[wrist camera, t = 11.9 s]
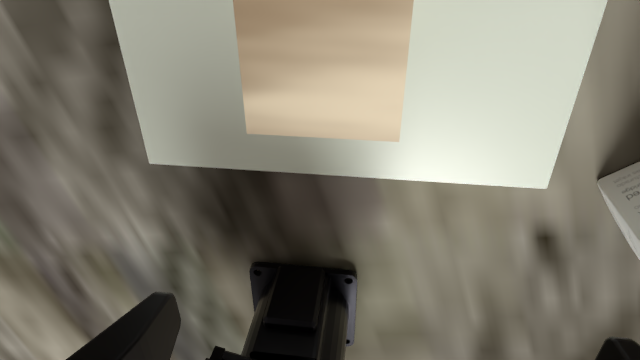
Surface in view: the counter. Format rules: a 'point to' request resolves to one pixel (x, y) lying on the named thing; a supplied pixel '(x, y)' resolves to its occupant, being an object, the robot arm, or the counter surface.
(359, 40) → the birch block
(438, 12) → the sage mat
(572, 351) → the counter surface
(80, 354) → the robot arm
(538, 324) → the counter surface
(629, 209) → the ink box
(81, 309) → the counter surface
